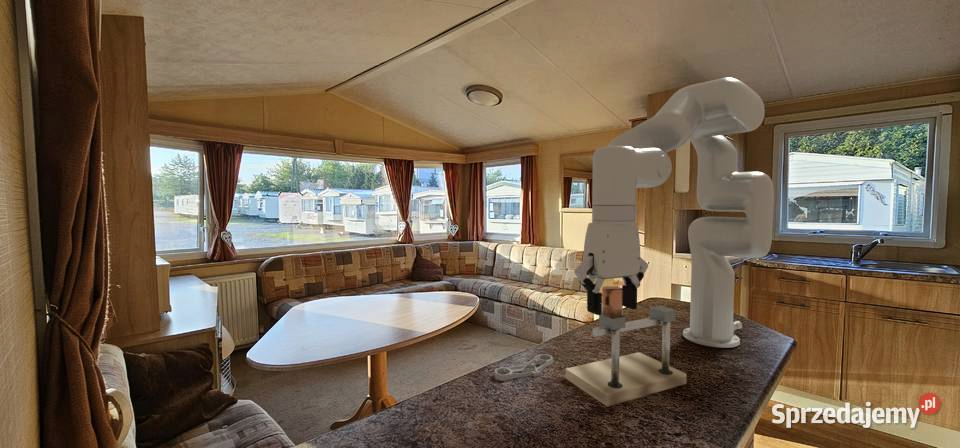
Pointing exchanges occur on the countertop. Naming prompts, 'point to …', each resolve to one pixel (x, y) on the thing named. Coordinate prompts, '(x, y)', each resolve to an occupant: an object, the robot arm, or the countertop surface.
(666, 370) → the frame
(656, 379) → the board
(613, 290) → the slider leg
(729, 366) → the countertop surface
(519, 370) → the bracket
